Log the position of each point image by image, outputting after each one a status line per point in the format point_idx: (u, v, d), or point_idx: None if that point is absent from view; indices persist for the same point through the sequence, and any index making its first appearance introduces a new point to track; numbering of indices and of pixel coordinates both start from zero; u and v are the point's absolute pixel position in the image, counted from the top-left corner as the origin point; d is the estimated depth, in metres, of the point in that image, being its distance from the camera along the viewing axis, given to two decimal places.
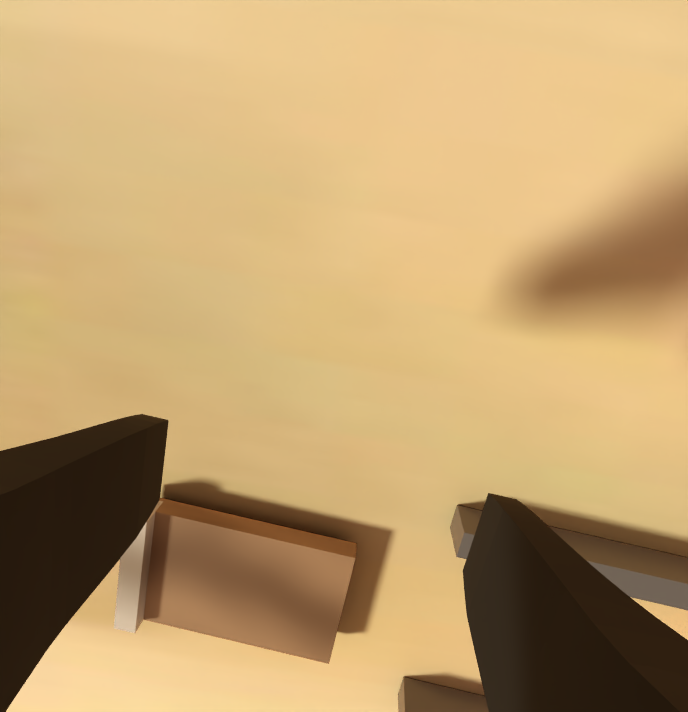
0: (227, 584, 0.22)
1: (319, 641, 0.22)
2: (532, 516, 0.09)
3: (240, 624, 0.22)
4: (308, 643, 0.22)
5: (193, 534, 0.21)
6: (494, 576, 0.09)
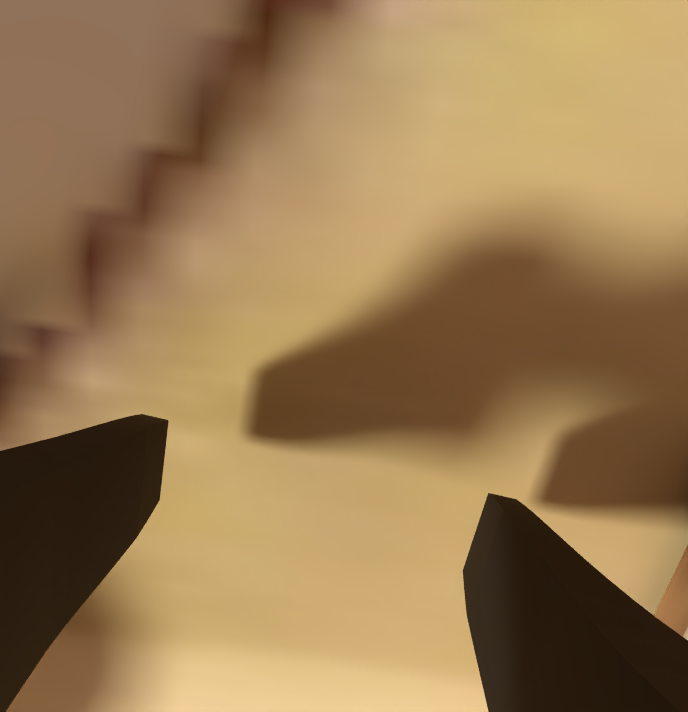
0: None
1: None
2: (532, 516, 0.09)
3: None
4: None
5: None
6: (494, 576, 0.09)
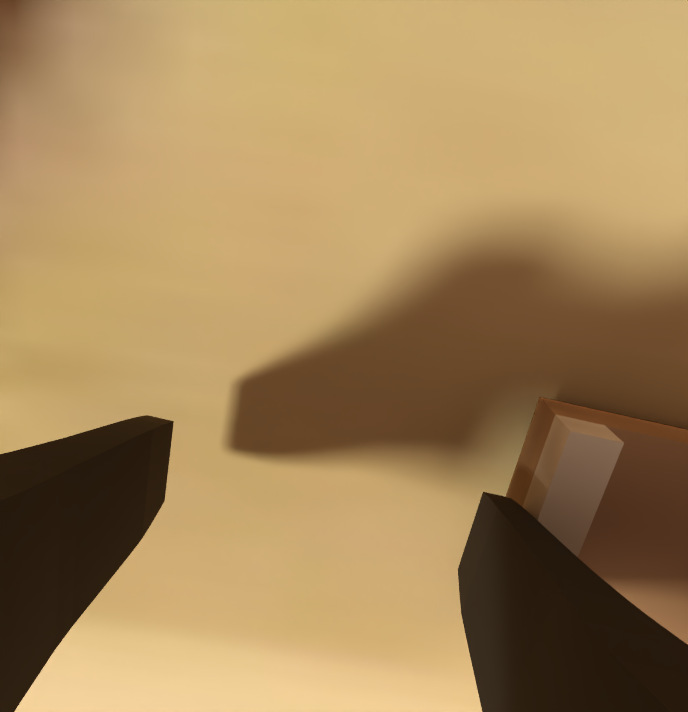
0: None
1: None
2: (526, 515, 0.09)
3: None
4: None
5: (681, 476, 0.10)
6: (488, 575, 0.09)
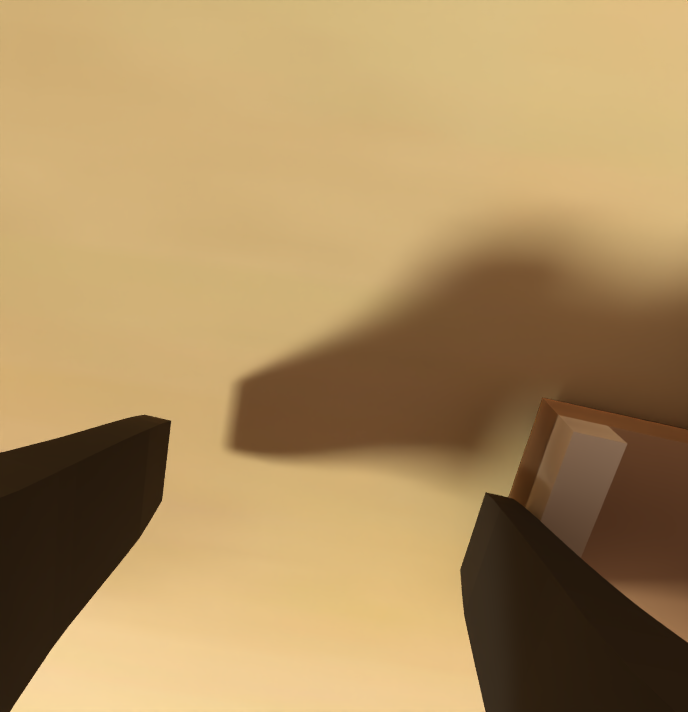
0: None
1: None
2: (529, 515, 0.09)
3: None
4: None
5: (684, 476, 0.10)
6: (491, 575, 0.09)
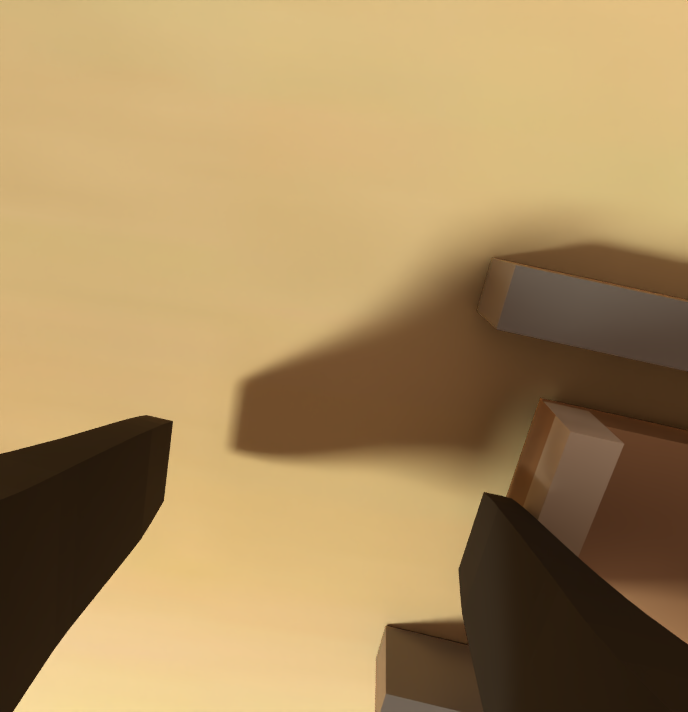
0: None
1: None
2: (527, 515, 0.09)
3: None
4: None
5: (681, 477, 0.10)
6: (489, 575, 0.09)
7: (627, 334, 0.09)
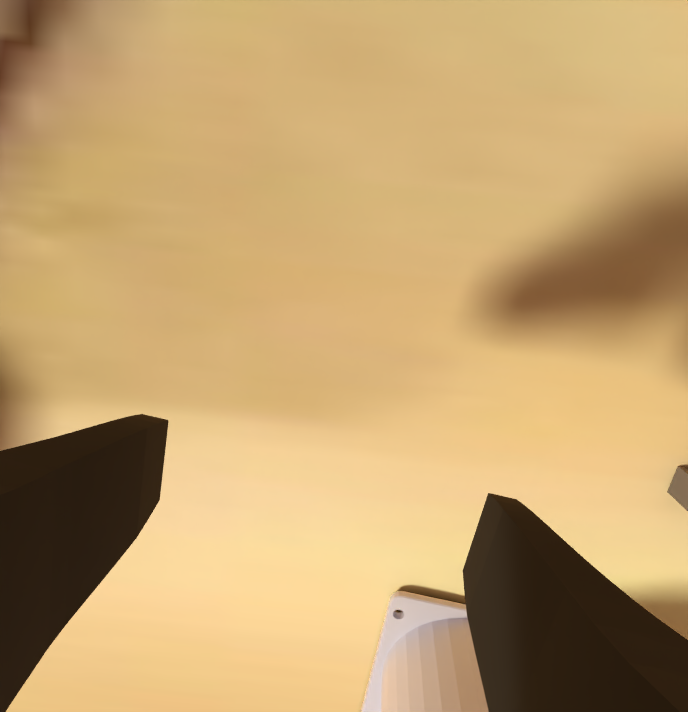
0: None
1: None
2: (532, 516, 0.09)
3: None
4: None
5: None
6: (494, 576, 0.09)
7: None
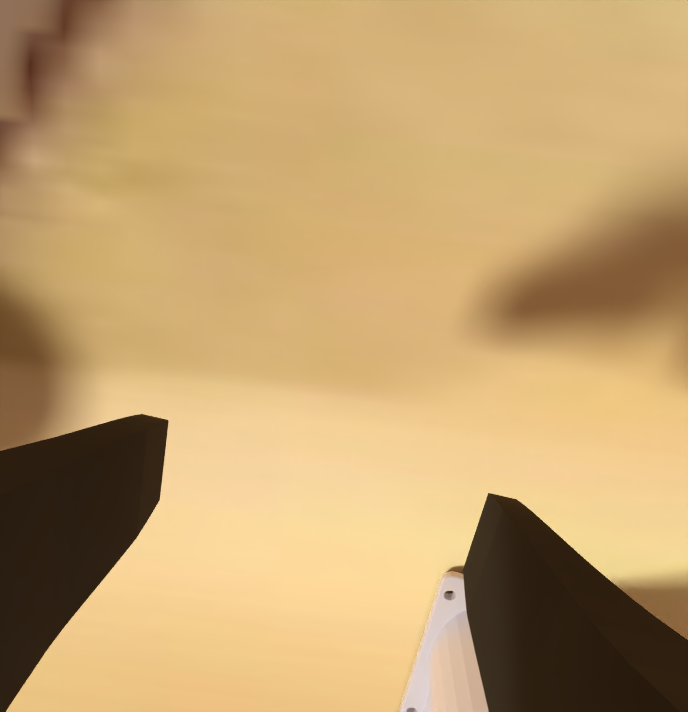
0: None
1: None
2: (532, 516, 0.09)
3: None
4: None
5: None
6: (494, 576, 0.09)
7: None
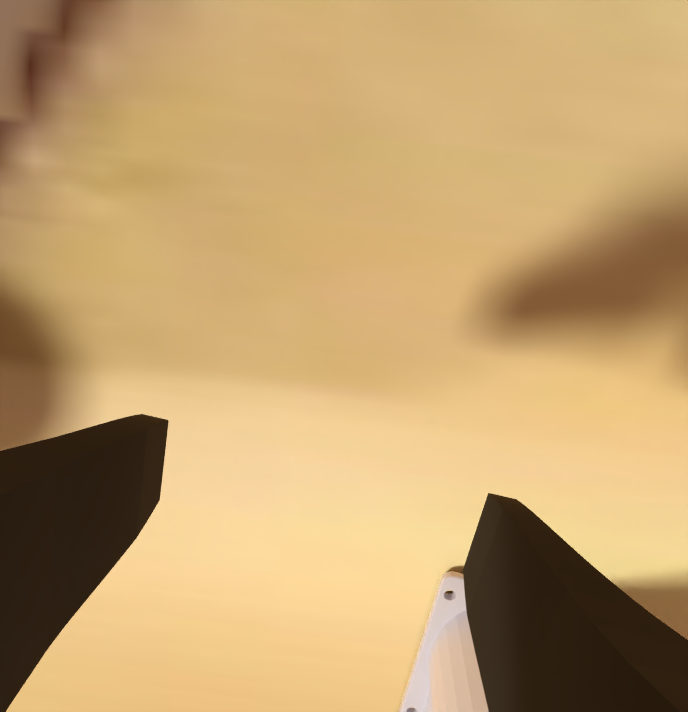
0: None
1: None
2: (532, 516, 0.09)
3: None
4: None
5: None
6: (494, 576, 0.09)
7: None
